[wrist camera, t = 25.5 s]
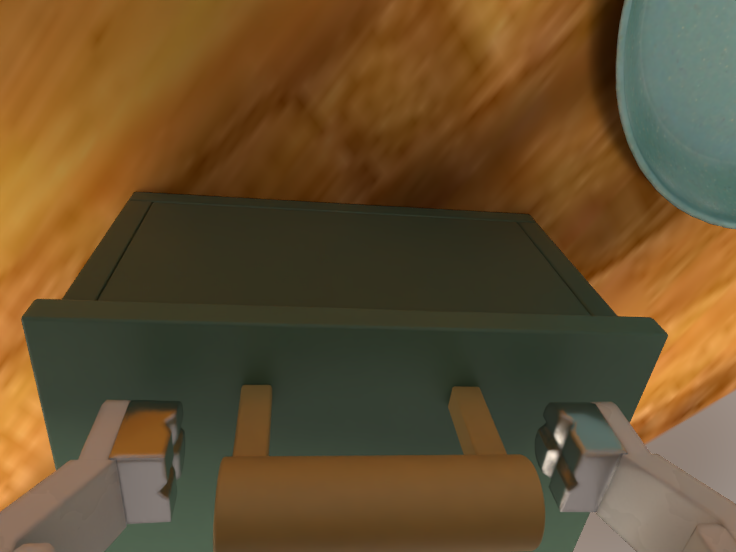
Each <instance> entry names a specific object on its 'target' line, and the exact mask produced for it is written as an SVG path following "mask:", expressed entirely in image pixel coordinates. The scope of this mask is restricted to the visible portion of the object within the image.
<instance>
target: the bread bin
mask: <svg viewBox="0 0 736 552" xmlns="http://www.w3.org/2000/svg"><path fill="white" fill-rule="evenodd" d="M62 300H90V301H123V302H156V303H189V304H222V305H255V306H288V307H321V308H354V309H387V310H420V311H453V312H486V313H519V314H552V315H585V316H617V315H616V314H615V313H614V311H613V310H612V309H611V308H610V307H609V306H608V305H607V303H606V302H605V301H604V300H603V299H602V298H601V296H600V295H599V294H598V293H597V292H596V291H595V290H594V288H593V287H592V286H591V285H590V284H589V283H588V282H587V280H586V279H585V278H584V277H583V276H582V275H581V273H580V272H579V271H578V270H577V269H576V268H575V267H574V265H573V264H572V263H571V262H570V261H569V260H568V258H567V257H566V256H565V255H564V254H563V253H562V252H561V250H560V249H559V248H558V247H557V246H556V245H555V244H554V242H553V241H552V240H551V239H550V238H549V237H548V235H547V234H546V233H545V232H544V231H543V230H542V229H541V227H540V226H539V225H538V224H537V223H536V222H535V220H534V219H533V218H532V217H531V216H530V215H529V214H516V213H498V212H481V211H463V210H446V209H428V208H411V207H393V206H376V205H358V204H340V203H323V202H305V201H288V200H270V199H253V198H235V197H218V196H200V195H183V194H165V193H148V192H134V193H133V195H132V196H131V198H130V199H129V201H128V202H127V203H126V205H125V206H124V208H123V209H122V211H121V212H120V214H119V215H118V217H117V218H116V220H115V221H114V223H113V224H112V225H111V227H110V228H109V230H108V231H107V233H106V234H105V236H104V237H103V239H102V240H101V242H100V243H99V245H98V246H97V248H96V249H95V251H94V252H93V254H92V255H91V257H90V258H89V260H88V261H87V263H86V264H85V266H84V267H83V269H82V270H81V272H80V273H79V275H78V276H77V277H76V279H75V280H74V282H73V283H72V285H71V286H70V288H69V289H68V291H67V292H66V294H65V295H64V297H63V298H62Z"/></svg>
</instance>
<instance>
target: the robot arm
mask: <svg viewBox="0 0 736 552" xmlns="http://www.w3.org/2000/svg"><path fill="white" fill-rule="evenodd" d="M183 415H184V414H183V406H182V402H181V401H155V400H132V401H131V400H106V401H105V402H104V403H103V404H102V405H101V408H100V410H99V412H98V415H97V417H96V419H95V421H94V424H93V426H92V428H91V431H90V433H89V435H88V438H87V440H86V442H85V445H84V447H83V449H82V451H81V454H80V456H79V458H78V460H70V461H68V462H67V463H65V464H64V465H63V466H61V467H60V468H59V469H57V470H56V471H55V472H53V473H52V474H51V475H49V476H48V477H47V478H45V479H44V480H43V481H41V482H40V483H39V484H37V485H36V486H34V487H33V488H32V489H30V490H29V491H28V492H26V493H25V494H24V495H22V496H21V497H20V498H18V499H17V500H16V501H14V502H13V503H12V504H10V505H9V506H8V507H6V508H5V509H3V510H2V511H1V512H0V552H104V551H105V550H106V549H107V548H108V547H109V546H110V545H111V544H112V542H113V541H114V540H115V539H116V538H117V537H118V536H119V535H120V534H121V532H122V531H123V530H124V529H125V528H126V527H127V525H126V524H138V523H158V522H171V519H172V515H173V511H174V506H175V502H176V497H177V484H176V480H178V479H179V478H180V477H181V475H182V470H183V465H184V457H185V431H184V430H183V429H182V428H181V424H182V420H183ZM543 417H544V419H545V421H546V423H545V424H544V425H543V426H542V427H540V428H539V429H538V430H537V434H536V437H535V456H536V460H537V463H538V465H539V468H540V470H541V471H542V472H543V473H544V474H546V475H547V476H548V477H549V478H551V481H550V484H549V489H550V491H551V494H552V496H553V498H554V500H555V502H556V504H557V506H558V508H559V511H560V512H597V513H596V514H597V515H598V516H599V517H600V518H601V519H602V520H603V521H604V522H605V523H606V524H607V525H609V527H610V528H612V529H613V530H614V531H615V532H616V533H617V534H618V535H619V536H620V537H621V538H622V539H623V540H624V541H625V542H627V543H628V544H629V545H630V546H631V547H632V548H633V549H634V550H635V551H636V552H736V504H735V503H733V502H732V501H730V500H729V499H727V498H725V497H724V496H722V495H721V494H719V493H718V492H716V491H714V490H713V489H711V488H710V487H708V486H707V485H705V484H704V483H702V482H700V481H699V480H697V479H696V478H694V477H692V476H691V475H689V474H688V473H686V472H685V471H683V470H682V469H680V468H678V467H677V466H675V465H674V464H672V463H671V462H669V461H667V460H666V459H664V458H663V457H661V456H660V455H658V454H651V453H650V452H649V450H648V449H647V448H646V446H645V445H644V443H643V442H642V440H641V439H640V437H639V436H638V435H637V433H636V432H635V430H634V429H633V428H632V426H631V425H630V423H629V422H628V420H627V419H626V418H625V416H624V415H623V413H622V412H621V410H620V409H619V408H618V406H617V405H616V404H614V403H613V402H590V403H589V402H550V403H549V404H548V405H547V406H546V407H545V410H544V413H543Z"/></svg>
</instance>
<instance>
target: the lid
mask: <svg viewBox="0 0 736 552" xmlns="http://www.w3.org/2000/svg"><path fill="white" fill-rule="evenodd" d="M21 320H22V325H23V329H24V333H25V338H26V342H27V346H28V351H29V355H30V359H31V364H32V368H33V372H34V377H35V381H36V385H37V390H38V394H39V398H40V403H41V407H42V411H43V416H44V420H45V424H46V429H47V433H48V437H49V442H50V446H51V450H52V455H53V459H54V463H55V468H56V470H57V469H59V468H60V467H61V466H63V465H64V464H65V463H67V462H68V461H70V460H78V458H79V456H80V454H81V451H82V449H83V447H84V445H85V442H86V440H87V438H88V435H89V433H90V431H91V428H92V426H93V424H94V421H95V419H96V417H97V415H98V412H99V410H100V408H101V405H102V404H103V403H104V402H105V401H106V400H131V401H132V400H155V401H181V402H182V406H183V414H184V415H183V420H182V424H181V428H182V429H183V430H184V431H185V457H184V465H183V470H182V475H181V477H180V478H179V479H178V480H176V484H177V497H176V502H175V506H174V511H173V515H172V519H171V522H158V523H138V524H126V525H127V527H126V528H125V529H124V530H123V531H122V532H121V534H120V535H119V536H118V537H117V538H116V539H115V540H114V541H113V542H112V544H111V545H110V546H109V547H108V548H107V549H106V550H105V551H104V552H573V550H574V548H575V545H576V543H577V541H578V539H579V536H580V534H581V532H582V530H583V527H584V525H585V523H586V520H587V518H588V516H589V514H590V512H560V511H559V508H558V506H557V504H556V502H555V500H554V498H553V496H552V494H551V491H550V489H549V484H550V481H551V478H549V477H548V476H547V475H546V474H544V473H543V472H542V471H541V470H540V468H539V465H538V463H537V460H536V456H535V437H536V434H537V430H538V429H539V428H540V427H542V426H543V425H544V424H545V423H546V421H545V419H544V417H543V413H544V410H545V407H546V406H547V405H548V404H549V403H550V402H589V403H590V402H613V403H614V404H616V405H617V406H618V408H619V409H620V410H621V412H622V413H623V415H624V416H625V418H626V419H627V420H628V422H629V423H630V421H631V419H632V416H633V414H634V412H635V410H636V407H637V405H638V403H639V400H640V398H641V396H642V394H643V391H644V389H645V387H646V385H647V382H648V380H649V378H650V376H651V373H652V371H653V369H654V367H655V364H656V362H657V360H658V357H659V355H660V353H661V351H662V348H663V346H664V344H665V342H666V339H667V337H668V334H667V333H666V332H665V331H664V330H663V329H662V328H661V327H660V326H659V324H658V323H657V322H656V321H655V320H654V319H652V318H650V317H618V316H585V315H552V314H519V313H486V312H453V311H420V310H387V309H354V308H321V307H288V306H255V305H222V304H189V303H156V302H123V301H90V300H57V299H36V300H34V302H33V303H32V304H31V306H30V307H29V308H28V310H27V311H26V312H25V314H24V315H23V316H22V319H21Z"/></svg>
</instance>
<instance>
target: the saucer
mask: <svg viewBox="0 0 736 552" xmlns="http://www.w3.org/2000/svg"><path fill="white" fill-rule="evenodd" d="M616 95H617V102H618V110H619V115H620V120H621V124H622V128H623V131H624V134H625V137H626V140H627V143H628V145H629V148H630V150H631V152H632V154H633V157H634V158H635V160H636V162H637V164H638V166H639V168H640V169H641V171H642V172H643V174H644V175H645V176H646V178H647V179H648V180H649V182H650V183H651V184H652V185H653V187H654V188H655V189H656V190H657V191H658V192H659V193H660V194H661V195H662V196H663V197H664V198H666V199H667V200H668V201H669V202H670V203H671V204H673V205H674V206H675V207H677V208H678V209H680V210H682V211H683V212H685V213H687V214H689V215H690V216H692V217H695V218H697V219H700V220H702V221H705V222H707V223H709V224H713V225H717V226H722V227H725V228H730V229H736V0H624V5H623V9H622V14H621V18H620V24H619V31H618V40H617V51H616Z"/></svg>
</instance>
